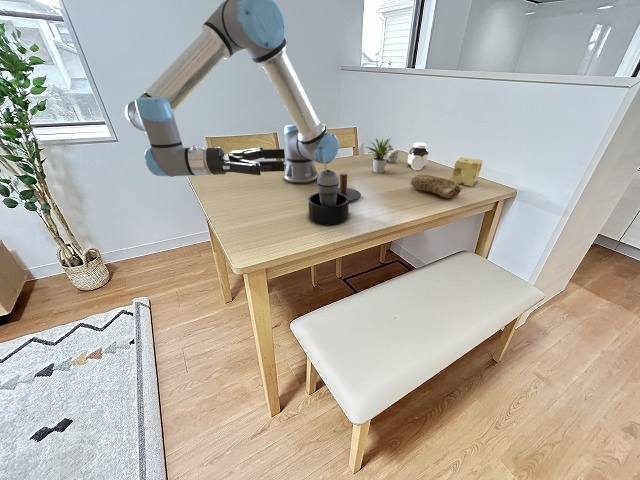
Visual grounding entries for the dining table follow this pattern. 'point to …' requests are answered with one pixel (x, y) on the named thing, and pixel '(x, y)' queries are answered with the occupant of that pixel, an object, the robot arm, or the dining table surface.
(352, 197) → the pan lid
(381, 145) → the house plant
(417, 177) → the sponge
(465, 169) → the cheese
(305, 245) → the dining table surface
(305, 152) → the robot arm
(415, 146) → the spread jar
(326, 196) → the beverage cup
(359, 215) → the dining table surface
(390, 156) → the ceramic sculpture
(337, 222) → the black round bowl
